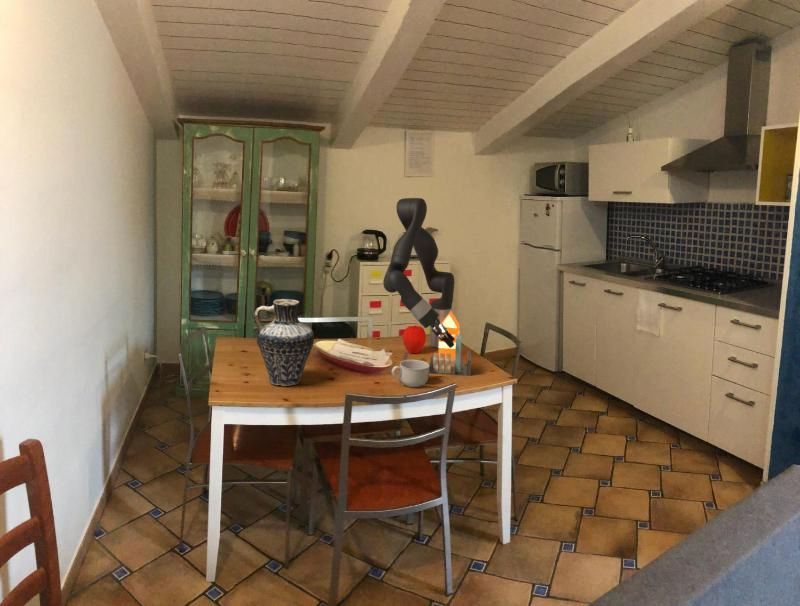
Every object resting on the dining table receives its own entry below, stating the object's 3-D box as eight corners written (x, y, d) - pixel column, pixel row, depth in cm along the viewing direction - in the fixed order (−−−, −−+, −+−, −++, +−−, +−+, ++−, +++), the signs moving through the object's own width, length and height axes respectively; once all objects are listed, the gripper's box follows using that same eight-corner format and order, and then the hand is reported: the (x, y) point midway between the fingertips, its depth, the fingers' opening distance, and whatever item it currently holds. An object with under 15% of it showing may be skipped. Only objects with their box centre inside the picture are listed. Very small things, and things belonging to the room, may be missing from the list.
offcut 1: (432, 372, 254) (433, 359, 253) (433, 365, 264) (434, 352, 263) (438, 372, 254) (438, 359, 253) (438, 365, 263) (439, 353, 263)
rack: (401, 374, 253) (401, 356, 252) (404, 364, 267) (404, 347, 265) (470, 378, 251) (471, 360, 250) (469, 367, 265) (470, 350, 263)
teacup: (424, 380, 247) (425, 359, 246) (432, 389, 237) (433, 367, 236) (387, 381, 244) (388, 360, 243) (393, 390, 234) (394, 368, 233)
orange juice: (458, 357, 279) (460, 310, 276) (456, 363, 271) (459, 315, 267) (439, 356, 280) (441, 309, 277) (437, 362, 272) (439, 313, 268)
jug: (303, 372, 252) (303, 294, 246) (321, 387, 235) (322, 303, 229) (248, 379, 242) (247, 297, 237) (263, 395, 226) (262, 307, 220)
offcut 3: (444, 372, 253) (445, 360, 253) (445, 365, 263) (446, 353, 262) (450, 373, 253) (450, 360, 252) (450, 365, 263) (451, 353, 262)
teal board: (454, 371, 255) (456, 338, 253) (454, 367, 261) (456, 335, 259) (459, 372, 255) (461, 339, 253) (459, 367, 261) (461, 335, 258)
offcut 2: (438, 372, 254) (439, 359, 253) (439, 365, 263) (440, 353, 262) (444, 372, 253) (444, 360, 252) (444, 365, 263) (445, 353, 262)
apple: (417, 357, 278) (418, 328, 276) (397, 353, 284) (398, 325, 281) (429, 352, 286) (430, 324, 284) (410, 348, 292) (411, 321, 290)
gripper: (430, 310, 247) (460, 341, 249) (432, 303, 261) (460, 333, 262) (415, 323, 249) (445, 354, 250) (418, 315, 263) (446, 345, 264)
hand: (452, 343), depth 256 cm, fingers open, 8 cm apart
